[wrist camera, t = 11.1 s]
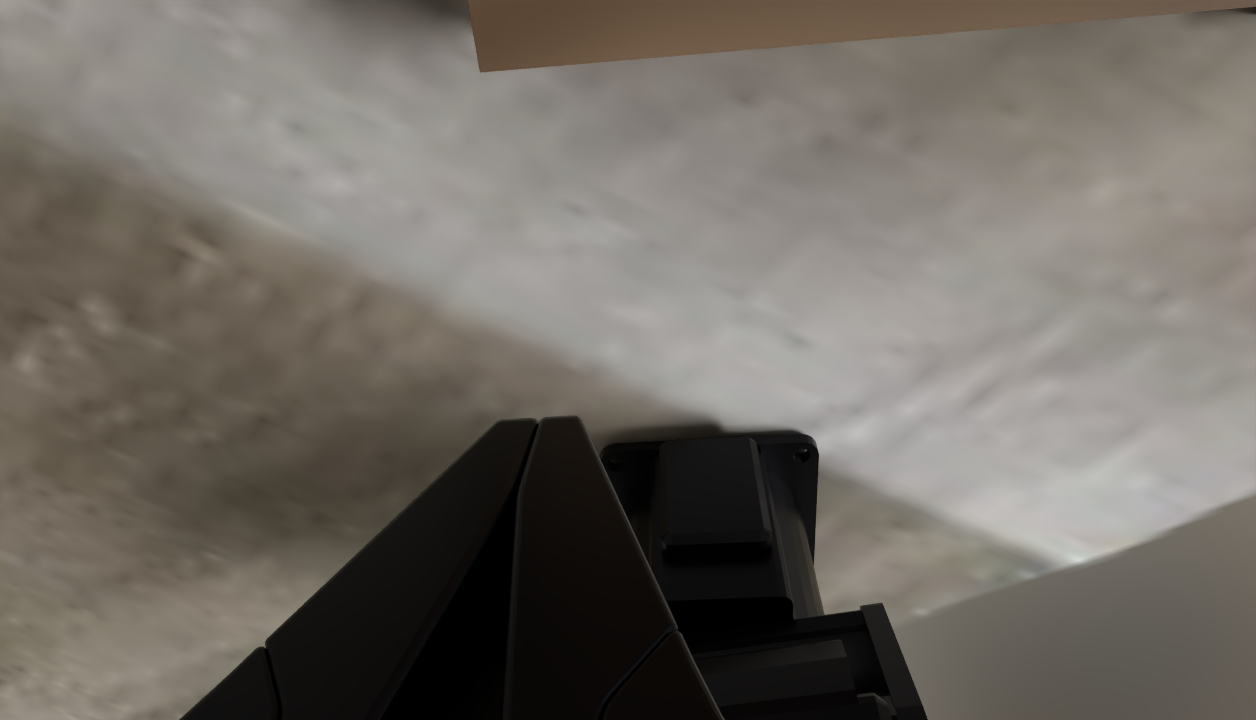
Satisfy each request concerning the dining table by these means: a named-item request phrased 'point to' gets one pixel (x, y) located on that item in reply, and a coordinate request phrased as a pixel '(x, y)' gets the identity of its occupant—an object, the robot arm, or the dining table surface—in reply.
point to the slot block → (756, 24)
